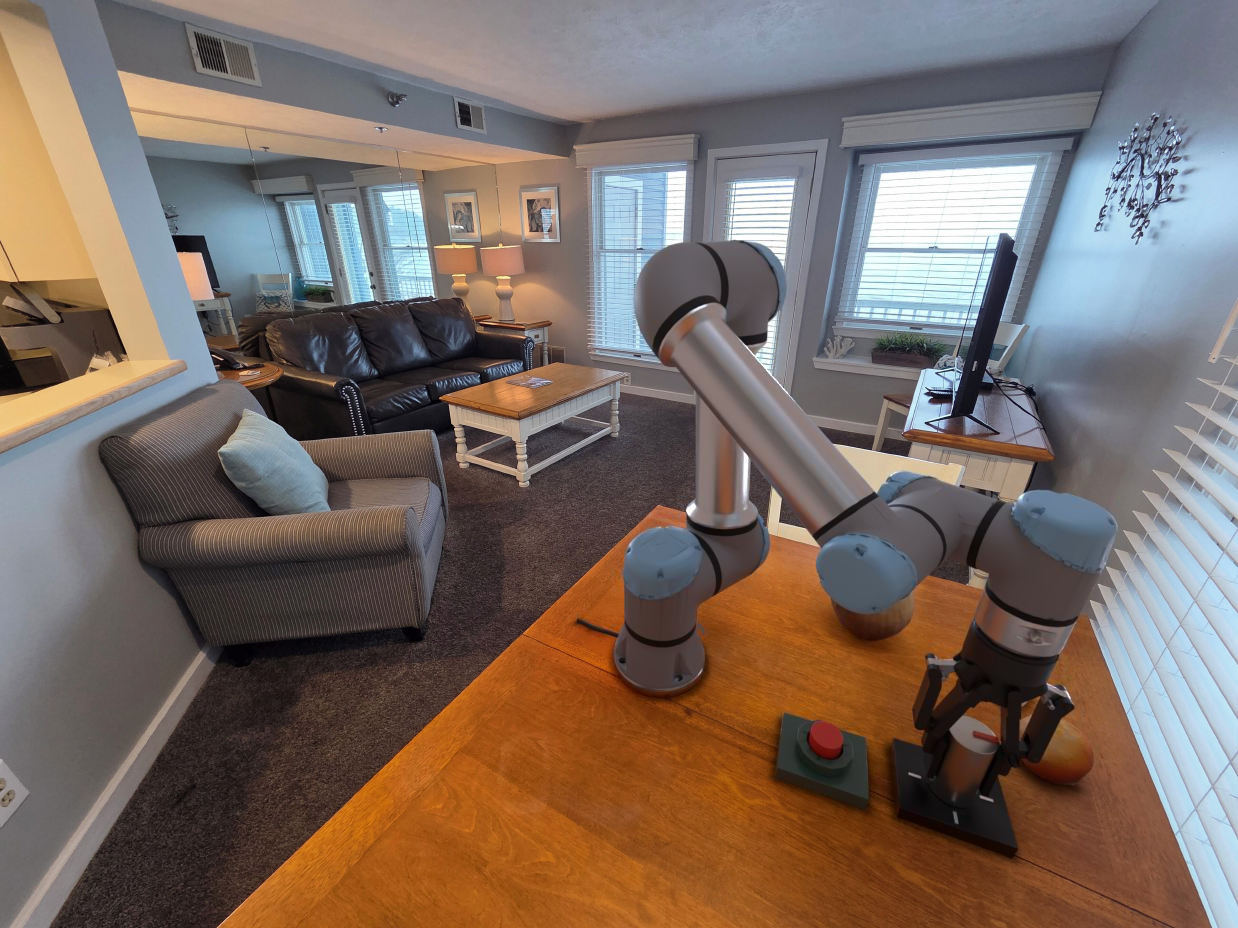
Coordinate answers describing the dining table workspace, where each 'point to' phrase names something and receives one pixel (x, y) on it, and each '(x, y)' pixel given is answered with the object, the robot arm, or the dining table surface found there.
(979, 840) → the dial panel
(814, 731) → the button
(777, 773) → the button box
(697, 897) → the dining table surface
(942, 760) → the dial
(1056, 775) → the fruit
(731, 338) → the robot arm
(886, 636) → the butternut squash
